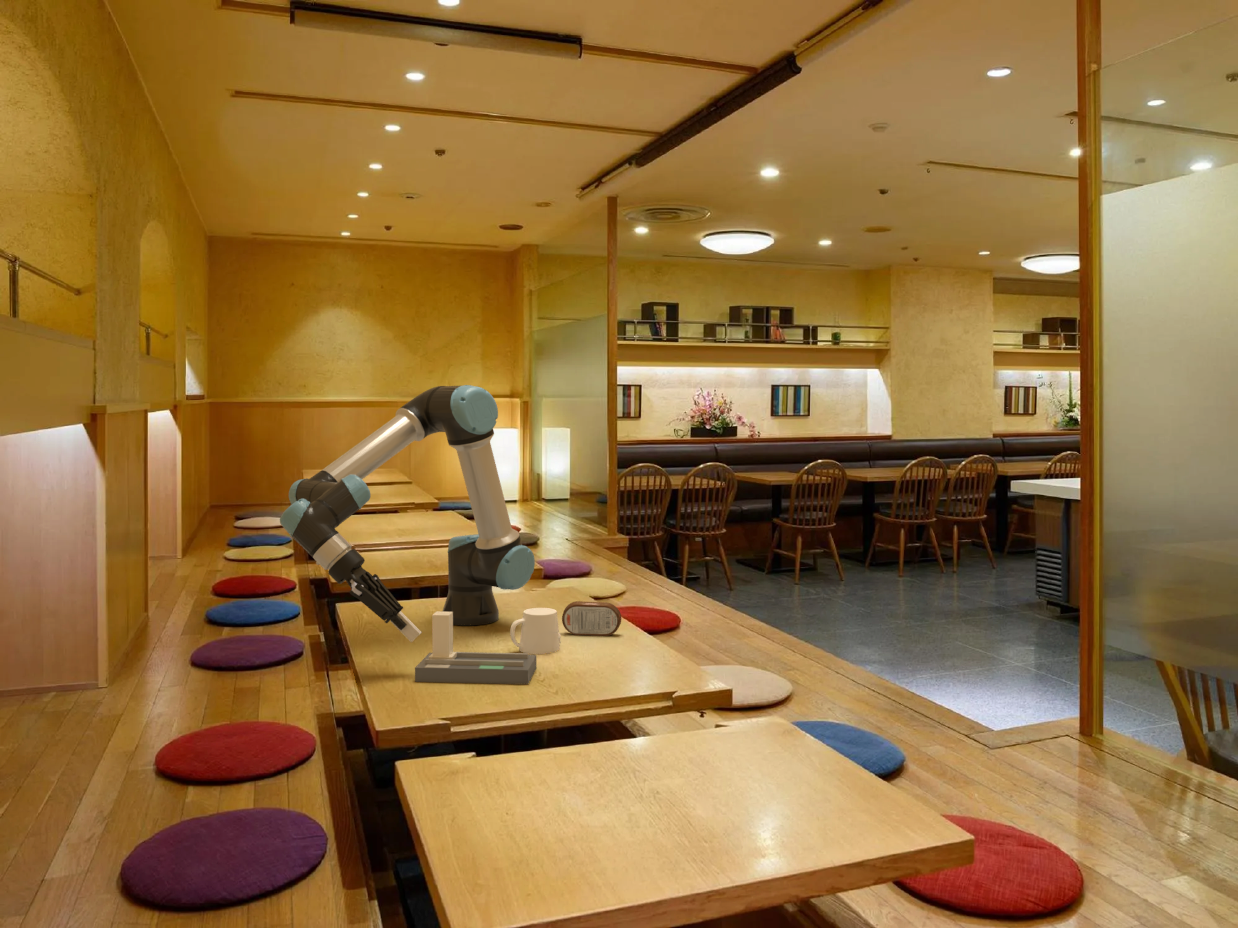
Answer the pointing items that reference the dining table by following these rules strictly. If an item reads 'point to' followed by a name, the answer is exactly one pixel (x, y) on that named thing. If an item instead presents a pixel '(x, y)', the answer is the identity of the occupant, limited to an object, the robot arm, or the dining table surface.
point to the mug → (537, 631)
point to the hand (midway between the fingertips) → (416, 637)
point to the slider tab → (442, 636)
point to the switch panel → (478, 668)
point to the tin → (591, 618)
